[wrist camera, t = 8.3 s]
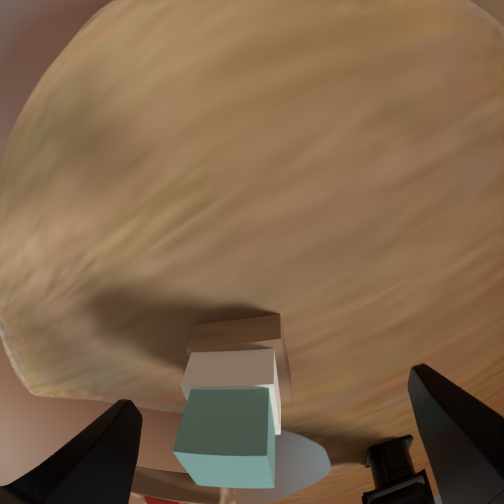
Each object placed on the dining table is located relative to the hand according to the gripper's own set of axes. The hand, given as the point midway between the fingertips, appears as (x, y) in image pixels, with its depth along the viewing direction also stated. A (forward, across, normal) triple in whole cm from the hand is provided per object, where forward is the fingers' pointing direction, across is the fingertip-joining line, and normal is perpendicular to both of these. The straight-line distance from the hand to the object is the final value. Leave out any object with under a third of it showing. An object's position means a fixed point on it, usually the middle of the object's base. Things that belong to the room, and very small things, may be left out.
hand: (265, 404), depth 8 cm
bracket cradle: (+13, +21, +39) cm, 46 cm away
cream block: (+10, +4, +9) cm, 14 cm away
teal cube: (+7, +4, +9) cm, 12 cm away
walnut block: (+14, +4, +9) cm, 17 cm away
